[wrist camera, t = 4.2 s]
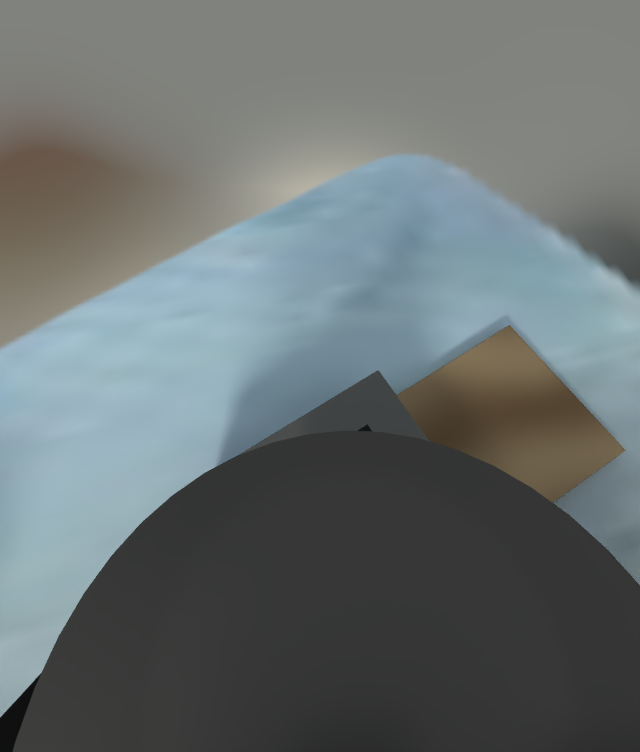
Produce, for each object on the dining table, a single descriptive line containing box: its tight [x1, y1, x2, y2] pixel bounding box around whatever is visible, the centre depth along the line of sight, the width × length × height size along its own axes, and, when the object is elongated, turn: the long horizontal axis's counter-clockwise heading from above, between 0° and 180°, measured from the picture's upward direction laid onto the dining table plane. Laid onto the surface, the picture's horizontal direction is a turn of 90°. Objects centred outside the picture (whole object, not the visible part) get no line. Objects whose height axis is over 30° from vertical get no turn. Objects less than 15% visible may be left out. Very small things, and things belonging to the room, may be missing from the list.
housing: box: [241, 371, 429, 454], centre depth 14 cm, size 10×10×4 cm
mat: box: [397, 325, 625, 503], centre depth 16 cm, size 8×8×1 cm
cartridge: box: [13, 431, 640, 752], centre depth 9 cm, size 5×5×14 cm
